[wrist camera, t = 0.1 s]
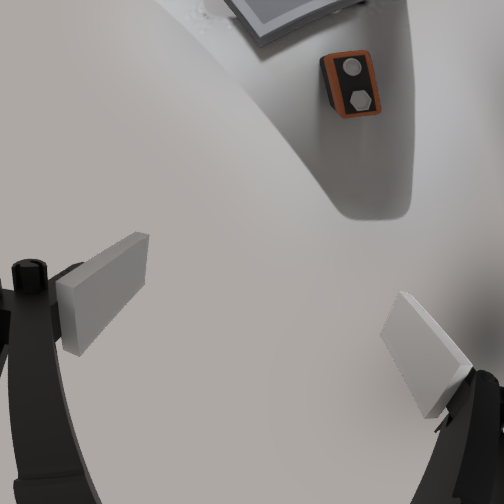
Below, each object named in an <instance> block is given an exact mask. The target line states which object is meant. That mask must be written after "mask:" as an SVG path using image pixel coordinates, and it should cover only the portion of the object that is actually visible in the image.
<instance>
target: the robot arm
mask: <svg viewBox="0 0 504 504" xmlns="http://www.w3.org/2000/svg"><path fill="white" fill-rule="evenodd" d="M148 243H149V235H148V234H144V233H139V232H134V233H133V234H131V235H129V236H127V237H126V238H124V239H123V240H121V241H119V242H117V243H116V244H114V245H112V246H111V247H109V248H107V249H106V250H104V251H103V252H101V253H99V254H98V255H96V256H94V257H93V258H91V259H90V260H88V261H86V262H81V263H77V264H73V265H71V266H70V267H68V268H67V269H66V270H63V271H62V272H60V273H59V274H57V275H55V276H54V277H52V278H51V279H49V280H48V277H47V265H46V263H45V262H43V261H41V260H38V259H24V260H21V261H18V262H16V263H14V264H13V266H12V276H13V285H14V291H13V290H7V289H2V286H1V279H0V377H1V374H2V370H3V367H4V364H5V361H6V358H7V355H8V396H9V412H10V423H11V432H12V440H13V447H14V453H15V459H16V464H17V469H18V479H16V480H14V484H13V489H14V494H15V499H16V503H17V504H102V503H101V500H100V498H99V496H98V493H97V491H96V489H95V487H94V484H93V482H92V479H91V477H90V474H89V472H88V469H87V466H86V464H85V461H84V458H83V455H82V452H81V450H80V447H79V444H78V440H77V437H76V434H75V431H74V427H73V424H72V420H71V417H70V413H69V409H68V405H67V401H66V397H65V393H64V388H63V384H62V379H61V373H60V368H59V363H58V356H57V350H56V345H55V342H56V341H57V340H58V339H59V338H60V337H61V339H62V345H63V350H65V351H68V352H70V353H72V354H74V355H77V356H79V357H80V356H81V355H82V354H83V353H84V351H85V350H86V349H87V348H88V347H89V345H90V344H91V343H92V342H93V341H94V340H95V339H96V338H97V336H98V335H99V334H100V333H101V332H102V331H103V330H104V328H105V327H106V326H107V325H108V324H109V323H110V322H111V320H112V319H113V318H114V317H115V316H116V315H117V314H118V313H119V312H120V311H121V309H122V308H123V307H124V306H125V305H126V304H127V303H128V302H129V301H130V300H131V299H132V298H133V296H134V295H135V294H136V293H137V292H138V291H139V290H140V289H141V288H142V287H143V286H144V284H145V272H146V262H147V252H148ZM380 336H381V337H382V339H383V341H384V343H385V344H386V346H387V348H388V350H389V352H390V353H391V355H392V357H393V359H394V361H395V363H396V364H397V366H398V368H399V370H400V372H401V374H402V376H403V378H404V380H405V381H406V383H407V385H408V387H409V389H410V391H411V393H412V395H413V397H414V398H415V401H416V402H417V405H418V407H419V409H420V411H421V413H422V415H423V417H424V418H425V419H427V418H438V416H439V415H440V414H441V413H442V411H443V410H444V409H445V407H446V408H447V410H448V411H449V413H448V415H447V416H446V417H445V418H444V420H443V421H442V422H441V424H440V425H439V426H438V427H437V429H436V430H435V431H434V432H435V433H436V432H437V431H438V430H440V433H439V436H438V439H437V442H436V445H435V447H434V450H433V453H432V456H431V458H430V461H429V463H428V466H427V468H426V471H425V473H424V475H423V477H422V480H421V482H420V484H419V486H418V489H417V491H416V493H415V495H414V497H413V499H412V501H411V503H410V504H504V433H503V428H504V387H501V386H499V382H498V380H497V379H496V378H495V377H494V375H493V374H491V373H489V372H487V371H484V370H478V371H476V370H475V369H474V368H473V365H472V363H471V362H470V361H469V360H468V359H467V357H466V356H465V355H464V354H463V353H462V352H461V350H460V349H459V348H458V347H457V346H456V344H455V343H454V342H453V341H452V340H451V339H450V337H449V336H448V335H447V334H446V333H445V332H444V330H443V329H442V328H441V327H440V326H439V325H438V324H437V322H436V321H435V320H434V319H433V318H432V317H431V316H430V315H429V314H428V313H427V311H426V310H425V309H424V308H423V307H422V306H421V305H420V304H419V303H418V302H417V301H416V299H415V298H414V297H413V296H412V295H411V294H410V293H406V292H401V291H398V294H397V296H396V299H395V301H394V303H393V306H392V308H391V311H390V313H389V316H388V318H387V320H386V322H385V324H384V327H383V329H382V331H381V333H380Z"/></svg>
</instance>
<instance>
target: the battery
mask: <svg viewBox="0 0 504 504" xmlns="http://www.w3.org/2000/svg"><path fill="white" fill-rule="evenodd" d="M320 65H321V69H322V72H323V76H324V80H325V84H326V88H327V93H328V97H329V101H330V105H331V107H332V108H333V109H334V110H335V111H336V112H337V113H338V114H339V115H340V116H341V117H342V118H352V117H359V116H367V115H376V114H379V113H380V112H381V105H380V100H379V94H378V89H377V84H376V79H375V74H374V70H373V65H372V61H371V57H370V54H369V52H368V51H366V50H358V51H349V52H340V53H332V54H328V55H326V56H324V57H321V58H320Z"/></svg>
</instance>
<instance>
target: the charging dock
mask: <svg viewBox="0 0 504 504" xmlns="http://www.w3.org/2000/svg"><path fill="white" fill-rule="evenodd" d="M224 1H225V2H226V4H227V5H228V6H229V7H230V9H231V10H232V11H233V12H234V14H235V15H236V16H237V18H238V19H239V20H240V21H241V23H242V24H243V25H244V27H245V28H246V29H247V31H248V32H249V33H250V35H251V36H252V37H253V39H254V40H255V41H256V43H257V44H258V46H259V47H260V48H261V47H263V46H264V45H266V44H268V43H270V42H272V41H274V40H276V39H277V38H279V37H281V36H283V35H285V34H287V33H289V32H291V31H293V30H295V29H297V28H299V27H301V26H304V25H306V24H308V23H310V22H312V21H314V20H317V19H319V18H321V17H324V16H326V15H328V14H331V13H333V12H336V11H338V10H341V9H343V8H346V7H348V6H351V5H354V4H356V3H359V2H362V1H364V0H224Z"/></svg>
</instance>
